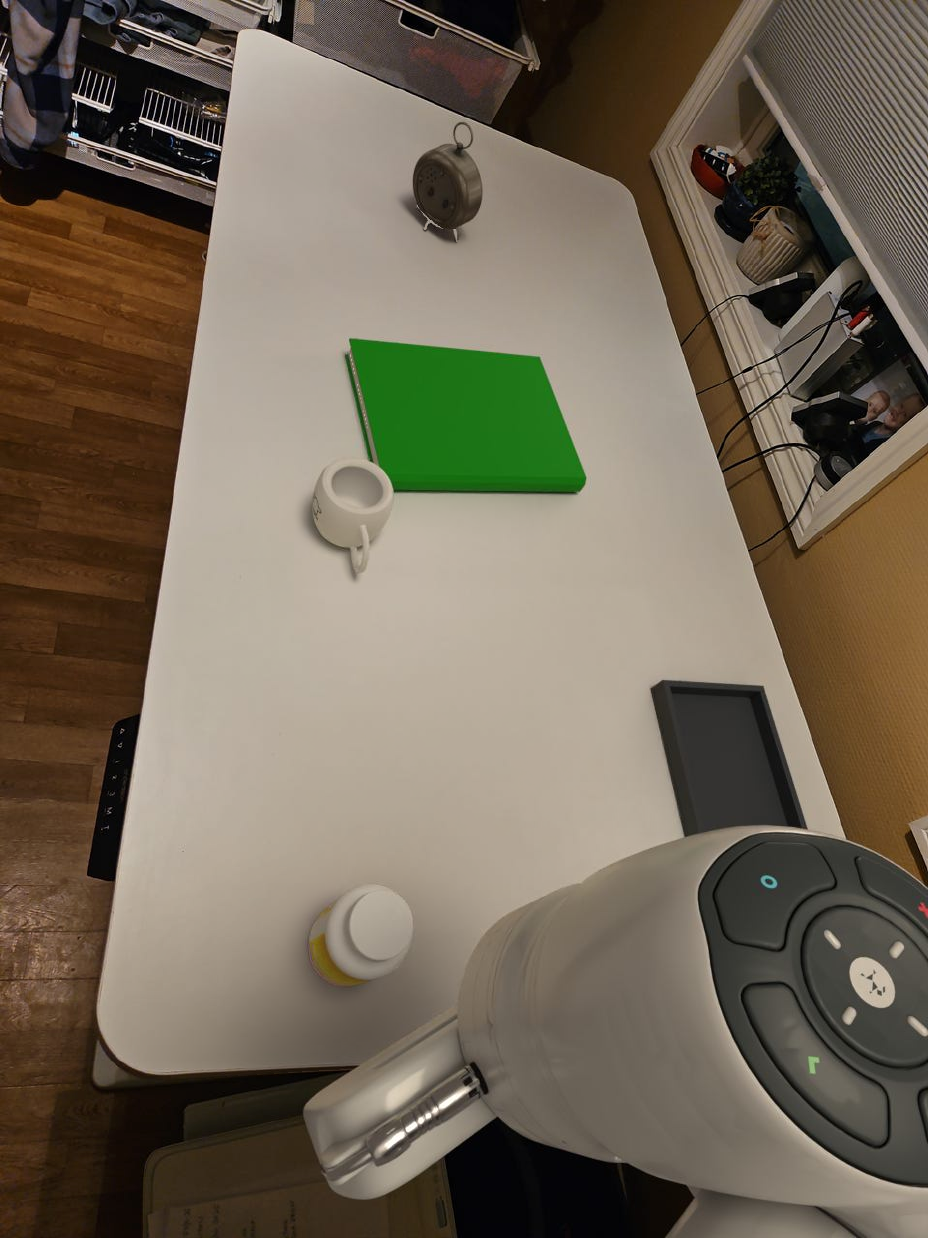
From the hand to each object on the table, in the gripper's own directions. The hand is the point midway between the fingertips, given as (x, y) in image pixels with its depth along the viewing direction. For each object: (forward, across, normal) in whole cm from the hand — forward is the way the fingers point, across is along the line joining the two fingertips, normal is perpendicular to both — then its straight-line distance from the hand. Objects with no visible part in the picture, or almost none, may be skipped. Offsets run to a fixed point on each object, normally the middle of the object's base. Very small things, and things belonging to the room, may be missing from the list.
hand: (473, 1024), depth 40 cm
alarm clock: (+22, +55, +98) cm, 114 cm away
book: (+23, +39, +59) cm, 74 cm away
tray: (+25, +46, +5) cm, 53 cm away
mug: (+23, +16, +46) cm, 54 cm away
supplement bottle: (+24, 0, +8) cm, 25 cm away
